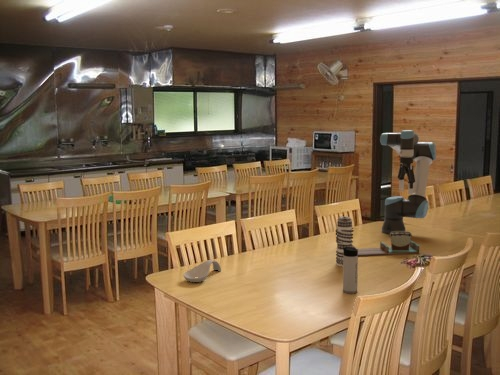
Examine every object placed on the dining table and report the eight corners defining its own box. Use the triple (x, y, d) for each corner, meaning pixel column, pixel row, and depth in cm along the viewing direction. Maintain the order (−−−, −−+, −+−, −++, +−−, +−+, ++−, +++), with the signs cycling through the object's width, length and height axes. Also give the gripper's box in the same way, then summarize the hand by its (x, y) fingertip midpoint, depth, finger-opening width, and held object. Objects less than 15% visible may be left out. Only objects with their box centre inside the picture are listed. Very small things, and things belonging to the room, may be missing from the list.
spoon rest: (198, 286, 232) (198, 272, 231) (178, 283, 238) (178, 268, 237) (226, 272, 253) (226, 258, 252) (207, 269, 259) (207, 256, 258)
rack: (350, 250, 288) (350, 242, 287) (410, 248, 291) (410, 240, 290) (356, 256, 276) (357, 248, 275) (419, 253, 279) (419, 245, 279)
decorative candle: (356, 263, 263) (357, 216, 259) (347, 268, 256) (347, 219, 252) (341, 260, 269) (342, 214, 265) (332, 264, 262) (332, 217, 258)
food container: (409, 247, 287) (409, 230, 286) (411, 250, 281) (412, 233, 280) (387, 247, 288) (387, 230, 287) (389, 250, 282) (389, 233, 281)
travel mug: (340, 289, 225) (340, 245, 222) (355, 288, 225) (355, 245, 223) (344, 294, 219) (344, 249, 216) (359, 293, 219) (359, 249, 216)
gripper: (392, 155, 309) (391, 189, 312) (409, 158, 284) (408, 195, 287) (404, 154, 309) (403, 189, 312) (421, 158, 285) (420, 195, 288)
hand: (405, 192), depth 300 cm, fingers open, 13 cm apart
